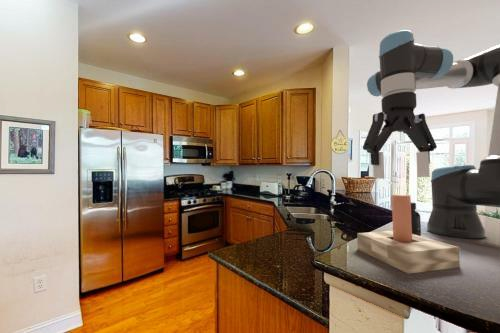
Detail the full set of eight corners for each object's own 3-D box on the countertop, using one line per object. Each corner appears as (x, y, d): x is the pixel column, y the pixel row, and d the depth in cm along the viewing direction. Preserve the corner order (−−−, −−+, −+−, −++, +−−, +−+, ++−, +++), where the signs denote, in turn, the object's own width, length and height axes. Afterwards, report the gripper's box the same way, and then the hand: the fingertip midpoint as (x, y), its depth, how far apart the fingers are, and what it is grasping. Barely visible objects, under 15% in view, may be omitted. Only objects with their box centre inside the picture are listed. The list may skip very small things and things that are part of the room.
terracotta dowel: (402, 247, 60) (400, 194, 61) (416, 252, 56) (414, 195, 57) (389, 249, 60) (387, 195, 60) (403, 254, 56) (401, 196, 56)
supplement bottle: (426, 245, 67) (424, 204, 68) (400, 244, 69) (399, 203, 69) (414, 238, 74) (413, 201, 75) (391, 237, 76) (389, 201, 76)
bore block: (399, 245, 67) (399, 230, 67) (459, 267, 52) (459, 247, 52) (357, 249, 64) (357, 233, 64) (408, 273, 49) (407, 252, 49)
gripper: (423, 101, 66) (427, 176, 65) (346, 97, 60) (349, 178, 60) (451, 92, 58) (455, 176, 58) (366, 87, 53) (369, 179, 52)
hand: (401, 177), depth 59 cm, fingers open, 13 cm apart
